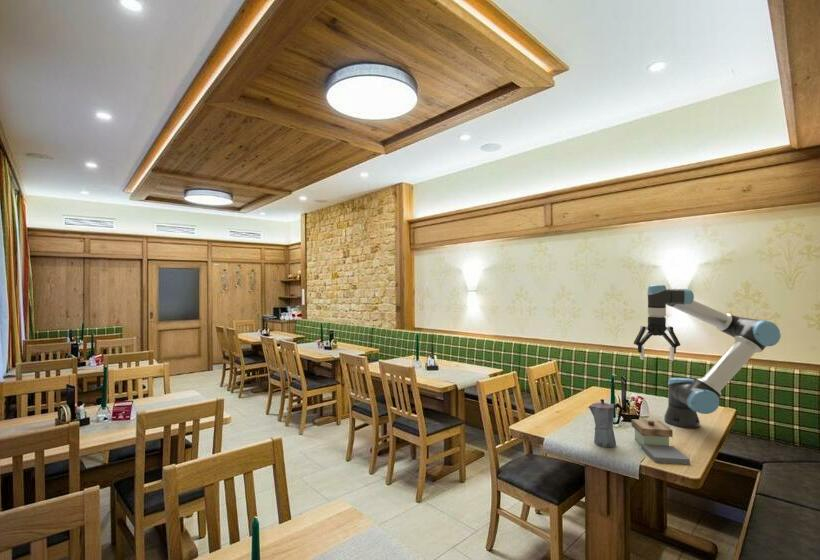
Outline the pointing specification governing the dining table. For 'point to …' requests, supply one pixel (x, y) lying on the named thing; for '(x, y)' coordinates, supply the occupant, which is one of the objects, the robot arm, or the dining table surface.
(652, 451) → the mat
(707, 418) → the dining table surface
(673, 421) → the robot arm
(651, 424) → the lid
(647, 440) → the green open box
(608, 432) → the moka pot
